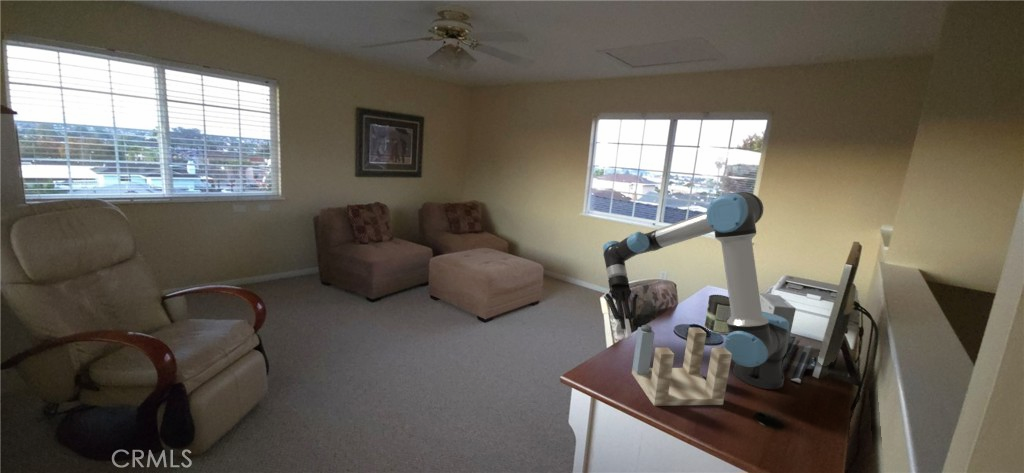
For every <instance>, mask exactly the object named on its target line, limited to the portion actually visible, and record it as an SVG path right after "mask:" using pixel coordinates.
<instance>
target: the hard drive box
mask: <svg viewBox="0 0 1024 473" xmlns="http://www.w3.org/2000/svg"><path fill="white" fill-rule="evenodd" d="M759 296H760V303H761V310H762V312H767V313H771V314H775V315H778V316H780V317H783V318H785V319H786V320H787V321H788V322H789V331H788V334H787V339H786V344H785V348H784V353H786V354H787V351H788V348H789V342H790V337H791V333H792V329H793V328H792V327H793V324H794V320H795V314H796V311H797V310H796V307H795V306H794V305H792V304H791V303H789V301H787V300H786V299H785V298H784V297H782V296H781V295H779V294H772V293H771V294H770V293H759Z"/></svg>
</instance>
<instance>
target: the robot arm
mask: <svg viewBox="0 0 1024 473" xmlns="http://www.w3.org/2000/svg"><path fill="white" fill-rule="evenodd" d="M763 215H764V203H763V202H762V200H761V198H759V197H758V195H756V194H754V193H751V192H747V191H742V192H740V191H739V192H727V193H723V194H721V195H719V196H716V197H715V198H714V199H712V200H711V202H710V203H709V204H708V206H707V209H706V211H705V212H702V213H700V214H697V215H694V216H691V217H688V218H686V219H683V220H681V221H678V222H675V223H672V224H669V225H666V226H663V227H660V228H658V229H655V230H653V231H650V232H646V233H643V232H641V231H636V232H634V233H632V234H629V236H627V237H626V238H624V239H622V240H620V241H618V240H610V241H607V242H605V243H604V244H603V246H602V251H603V252H602V254H603V255H602V256H603V258H604V259H603V260H604V263H605V268H606V276H607V280H608V286H609V287H608V288H609V292H608V293H605V295H604V297H603V298H604V300H605V301H606V302H607V304H608V306H609V310H611V313H612V316H613V318H614V320H618V323H620V324H619V325H620V329H621V330H623V332H624V338H625V339H627V340H629V339H631V338H632V336H633V334H632V329H633V322H632V320H634V319H635V318H636V315H637V299H638V297H639V295H638V293H633V291H632V290H631V287H630V283H629V278H628V272H627V267H626V263H625V262H626V261H628V260H630V259H632V258H634V257H635V256H637V255H642V254H645V253H646V254H647V253H649V252H655V251H658V250H660V249H664V248H665V247H670V246H672V245H676V244H679V243H681V242H682V243H683V242H685V241H689V240H692V239H694V238H697V237H701V236H705V235H707V234H711V233H714V237H715V238H714V239H716V240H717V241H719V242H720V243H721V244H720V245H721V249H722V256H723V266H724V272H725V277H726V279H725V280H726V285H727V294H728V297H729V302H730V309H731V317H730V318H729V319H728V320H727V326H728V334H726V337H725V338H724V342H723V345H724V346H723V348H725V349H727V350H728V351H729V352H730V353H731V354H732V358H731V360H732V361H733V362H734V365H733V374H734V375H735V376H736V377H737V378H738V379H739V380H741V381H742V382H744V383H745V384H748V385H751V386H752V387H753V386H754V387H756V388H759V389H764V390H779V389H781V388H782V387H783V386H784V383H785V382H784V381H785V374H784V369H783V362H782V361H783V358H784V356H783V353H784V348H785V344H786V339H787V334H788V331H789V322H788V321H787V320H786V319H785V318H783V317H780V316H778V315H775V314H771V313H767V312H762V310H761V303H760V291H759V289H760V288H759V283H758V282H759V281H758V276H757V275H758V274H757V267H756V260H755V254H754V247H753V238H754V237H755V236H756V235H757V228H756V224H757V223H758V222H759V221H760V220H761V218H762V216H763ZM629 298H630V300H631V301H630V304H629ZM614 300H615V301H614Z"/></svg>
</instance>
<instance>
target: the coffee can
mask: <svg viewBox="0 0 1024 473" xmlns="http://www.w3.org/2000/svg"><path fill="white" fill-rule="evenodd" d="M730 317H731V309H730V302H729V296H726V295H722V294H711V295H709V296H708V302H707V308H706V314H705V320H704V329H705V328H706V329H705V330H707V329H708V330H709V332H710V331H711V333H714V334H717V335H728V334H729V333H728V326H727V320H728V319H729V318H730ZM708 330H707V331H708Z"/></svg>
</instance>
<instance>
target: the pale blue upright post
mask: <svg viewBox="0 0 1024 473" xmlns="http://www.w3.org/2000/svg"><path fill="white" fill-rule="evenodd" d="M652 328H653V327H652V326H650V325H649V324H648V325H647V324H642V325H641V326H638V327H637V330H636V331H637V333H636V340H635V346H634V354H633V360H632V362H633V363H632V368H633V369H634V370H635V372H636V373H637V374H649V368H651V360H652V354H653V348H654V341H655V340H654V339H655V334H656V333H655V331H654V330H652Z"/></svg>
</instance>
